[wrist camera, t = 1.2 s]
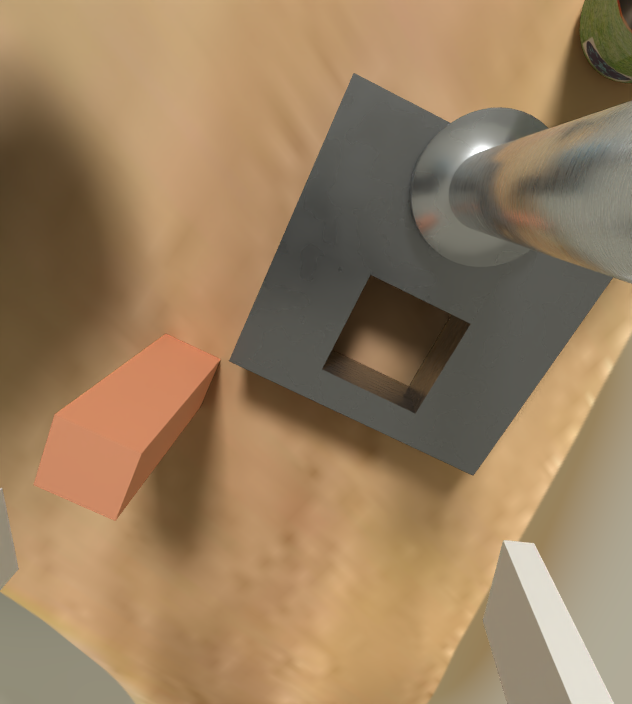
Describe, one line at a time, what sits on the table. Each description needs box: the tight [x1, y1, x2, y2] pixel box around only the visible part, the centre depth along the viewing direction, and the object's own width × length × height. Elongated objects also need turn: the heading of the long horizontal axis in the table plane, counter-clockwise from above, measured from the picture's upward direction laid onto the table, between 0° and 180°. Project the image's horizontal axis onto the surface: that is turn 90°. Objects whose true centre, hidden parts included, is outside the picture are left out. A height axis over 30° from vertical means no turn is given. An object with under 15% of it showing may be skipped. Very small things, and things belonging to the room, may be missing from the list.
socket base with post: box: [229, 73, 632, 475], centre depth 18 cm, size 16×18×22 cm
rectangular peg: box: [34, 334, 220, 521], centre depth 26 cm, size 4×4×12 cm
